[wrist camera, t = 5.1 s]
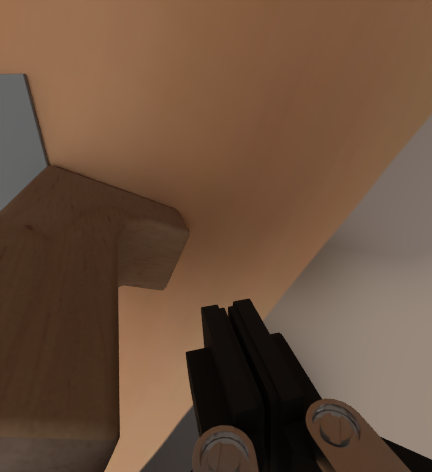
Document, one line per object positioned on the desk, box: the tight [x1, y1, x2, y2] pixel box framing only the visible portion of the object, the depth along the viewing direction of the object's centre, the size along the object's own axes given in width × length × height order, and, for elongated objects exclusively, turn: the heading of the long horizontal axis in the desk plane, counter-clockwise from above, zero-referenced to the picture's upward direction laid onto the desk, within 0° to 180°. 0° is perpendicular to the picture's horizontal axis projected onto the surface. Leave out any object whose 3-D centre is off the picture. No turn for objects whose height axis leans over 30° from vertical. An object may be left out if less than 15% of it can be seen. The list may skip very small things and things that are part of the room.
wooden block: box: [0, 166, 189, 472], centre depth 14 cm, size 9×4×18 cm, turn 65°
